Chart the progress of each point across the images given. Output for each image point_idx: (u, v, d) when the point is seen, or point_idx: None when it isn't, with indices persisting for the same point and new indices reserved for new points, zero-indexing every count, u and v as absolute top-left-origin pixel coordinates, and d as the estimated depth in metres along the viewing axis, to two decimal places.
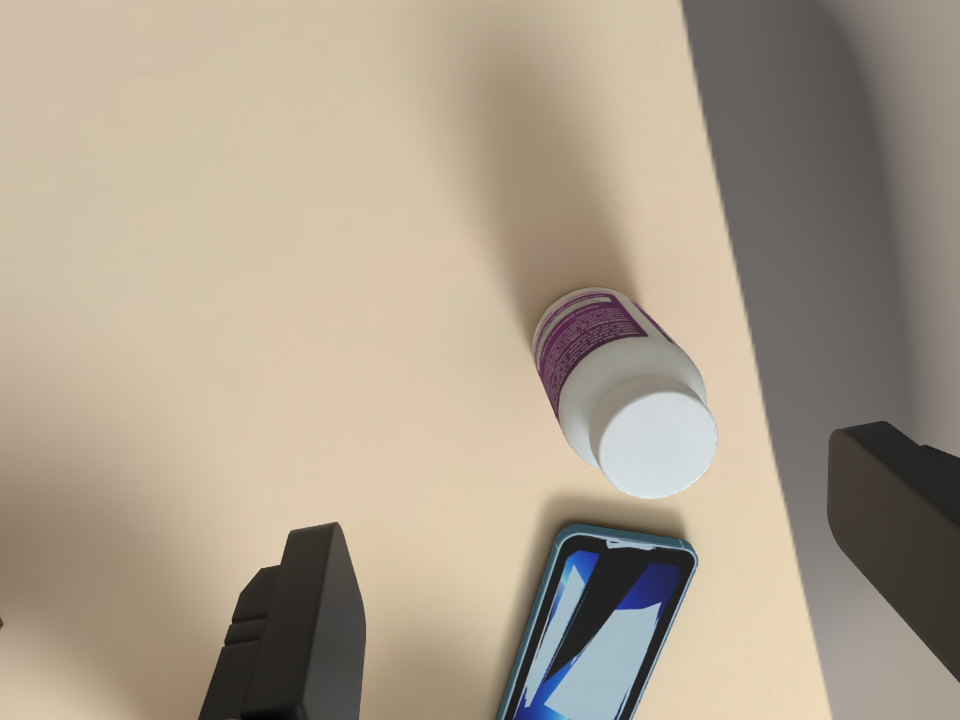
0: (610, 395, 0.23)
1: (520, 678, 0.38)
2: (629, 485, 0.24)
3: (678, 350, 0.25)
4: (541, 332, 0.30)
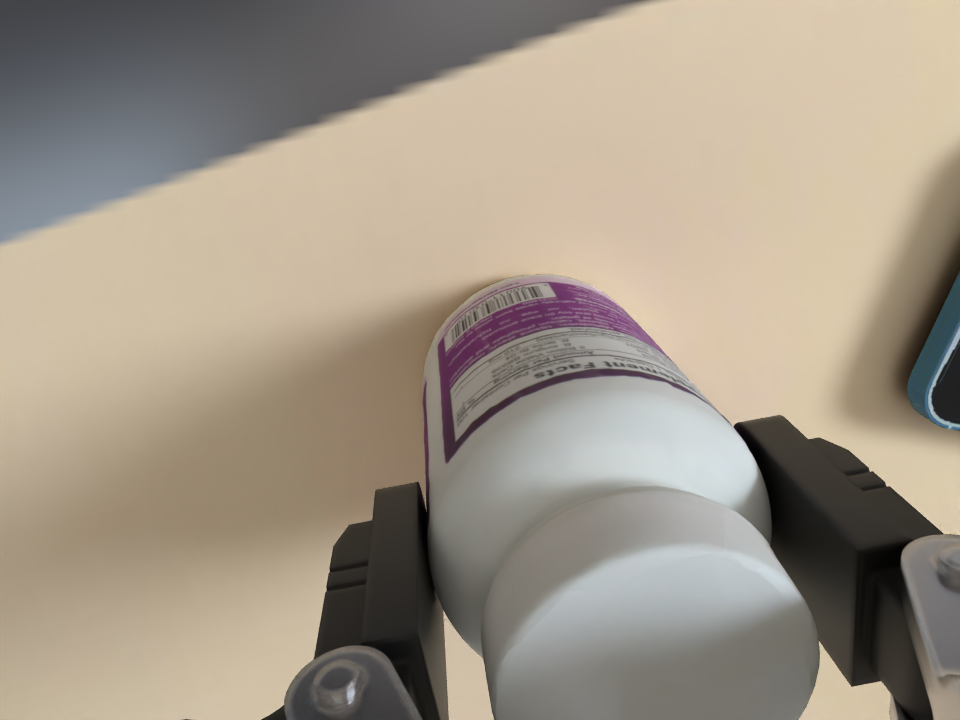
0: None
1: None
2: None
3: (456, 474, 0.10)
4: None
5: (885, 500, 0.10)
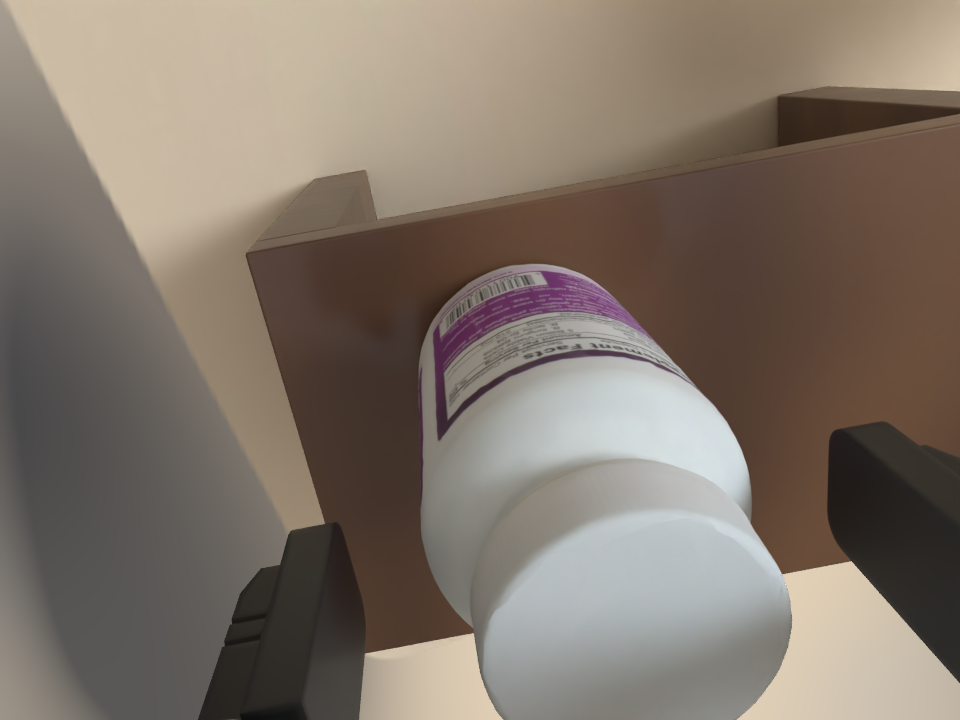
0: None
1: None
2: (739, 697, 0.09)
3: (447, 450, 0.11)
4: None
5: None
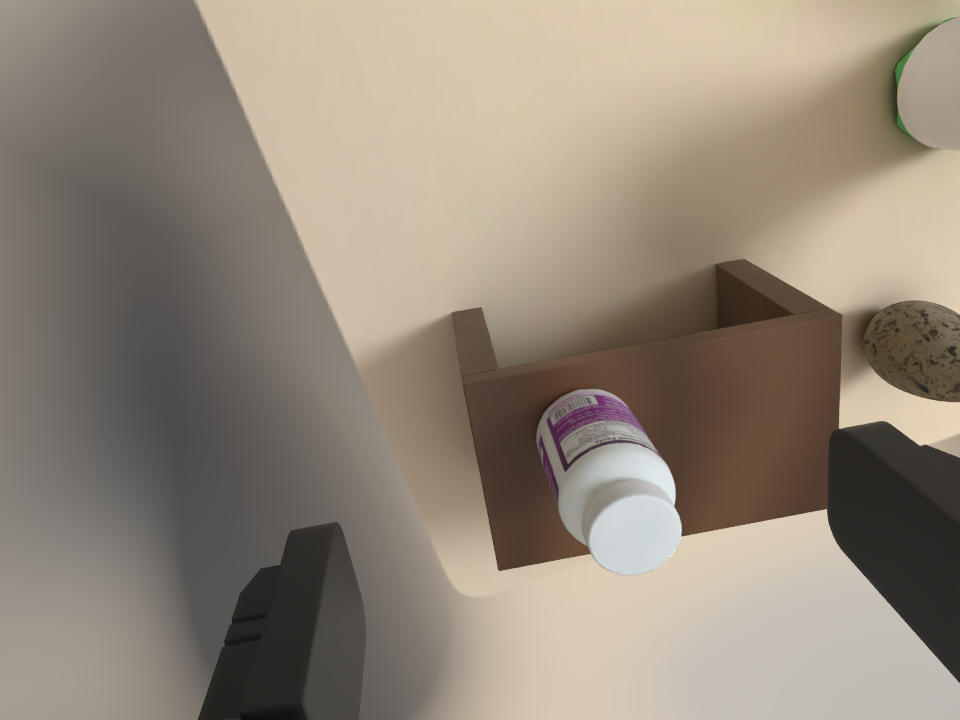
0: None
1: None
2: (666, 552, 0.30)
3: (570, 475, 0.31)
4: None
5: None
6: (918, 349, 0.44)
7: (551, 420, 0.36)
